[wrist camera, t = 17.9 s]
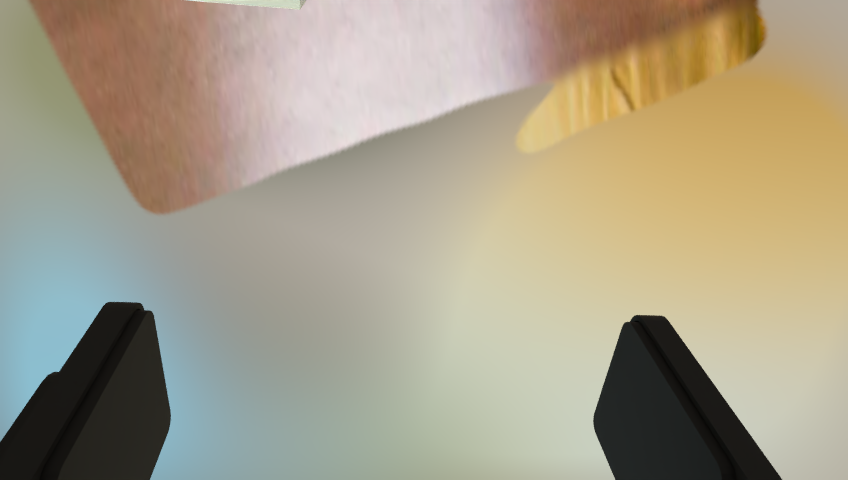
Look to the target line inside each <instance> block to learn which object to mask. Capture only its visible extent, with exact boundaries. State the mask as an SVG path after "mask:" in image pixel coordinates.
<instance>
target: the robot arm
mask: <svg viewBox="0 0 848 480" xmlns="http://www.w3.org/2000/svg"><path fill="white" fill-rule="evenodd" d="M170 417H171V414H170V406H169V401H168V395H167V389H166V383H165V378H164V372H163V367H162V361H161V355H160V349H159V343H158V337H157V331H156V326H155V320H154V315H153V313H152V311H144V308H143V306H142V304H141V303H131V302H108V303H106V304H105V305H104V306H103V307H102V309H101V310H100V312H99V313H98V315H97V316H96V318H95V319H94V321H93V322H92V324H91V325H90V327H89V328H88V330H87V331H86V333H85V334H84V336H83V337H82V339H81V340H80V342H79V343H78V345H77V346H76V348H75V349H74V351H73V352H72V354H71V355H70V357H69V358H68V360H67V361H66V363H65V364H64V366H63V367H62V369H61V370H60V371H59V372H53V373H51V374H49V375H48V376H47V377H46V378H45V379H44V380H43V381H42V383H41V384H40V386H39V387H38V388H37V390H36V391H35V393H34V394H33V396H32V397H31V399H30V400H29V402H28V403H27V404H26V406H25V407H24V409H23V410H22V412H21V413H20V414H19V416H18V417H17V419H16V420H15V422H14V423H13V425H12V426H11V428H10V429H9V430H8V432H7V433H6V435H5V436H4V438H3V439H2V441H1V442H0V480H150V478H151V475H152V472H153V470H154V467H155V465H156V462H157V460H158V457H159V454H160V452H161V449H162V447H163V444H164V441H165V439H166V436H167V434H168V431H169V427H170V419H171V418H170ZM593 422H594V429H595V432H596V435H597V437H598V440H599V442H600V444H601V447H602V449H603V451H604V454H605V456H606V459H607V461H608V463H609V466H610V468H611V470H612V473H613V475H614V477H615V480H782V479H781V477H780V476H779V475H778V473H777V472H776V470H775V469H774V468H773V466H772V465H771V463H770V462H769V461H768V460H767V458H766V456H765V455H764V454H763V452H762V451H761V449H760V448H759V447H758V445H757V444H756V443H755V441H754V440H753V438H752V437H751V435H750V434H749V433H748V431H747V430H746V429H745V427H744V426H743V424H742V423H741V422H740V420H739V419H738V417H737V416H736V415H735V413H734V412H733V410H732V409H731V408H730V407H729V405H728V403H727V402H726V401H725V399H724V398H723V397H722V395H721V394H720V392H719V391H718V389H717V388H716V387H715V385H714V384H713V382H712V381H711V380H710V378H709V377H708V376H707V374H706V373H705V371H704V370H703V369H702V367H701V366H700V364H699V363H698V362H697V360H696V359H695V357H694V356H693V355H692V353H691V352H690V350H689V349H688V348H687V346H686V345H685V343H684V342H683V341H682V339H681V338H680V336H679V335H678V334H677V332H676V331H675V330H674V328H673V327H672V325H671V324H670V323H669V321H668V320H667V319H666V318H665V317H663V316H650V315H648V316H647V315H636V316H634V317H633V318H632V319H631V321H630V322H626V323H624V325H623V327H622V329H621V333H620V336H619V339H618V342H617V345H616V348H615V351H614V355H613V357H612V360H611V363H610V367H609V370H608V373H607V376H606V379H605V382H604V385H603V388H602V391H601V395H600V398H599V401H598V404H597V407H596V410H595V413H594V420H593Z"/></svg>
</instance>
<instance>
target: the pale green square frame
mask: <svg viewBox="0 0 848 480" xmlns="http://www.w3.org/2000/svg"><path fill="white" fill-rule="evenodd" d="M189 1H201V2H213V3H226V4H238V5H250V6H262V7H275V8H287V9H299V10H300V9H301V7H302V6H303V5H304V3H305V2H306V0H189Z"/></svg>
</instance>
